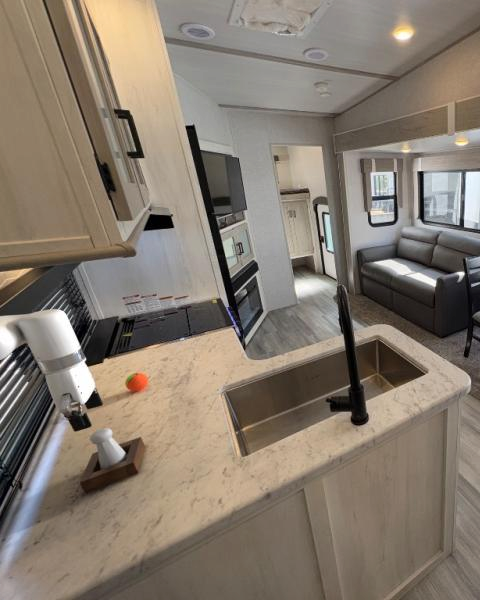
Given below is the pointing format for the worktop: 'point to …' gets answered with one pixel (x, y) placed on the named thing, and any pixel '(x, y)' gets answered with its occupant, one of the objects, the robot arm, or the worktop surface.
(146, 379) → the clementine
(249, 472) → the worktop surface
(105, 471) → the holder
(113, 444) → the salt shaker
